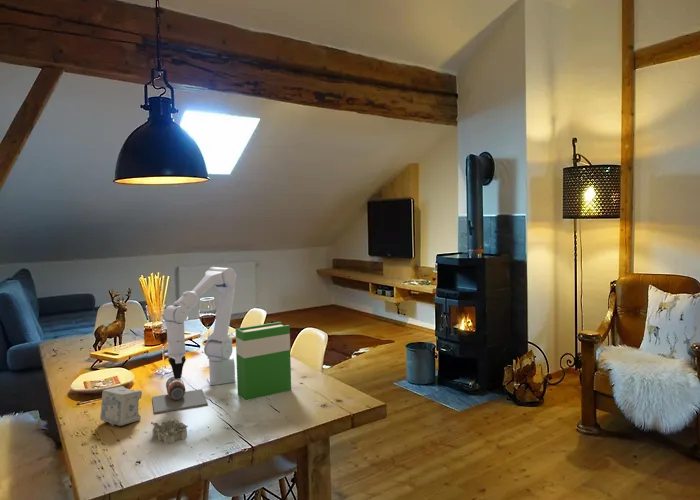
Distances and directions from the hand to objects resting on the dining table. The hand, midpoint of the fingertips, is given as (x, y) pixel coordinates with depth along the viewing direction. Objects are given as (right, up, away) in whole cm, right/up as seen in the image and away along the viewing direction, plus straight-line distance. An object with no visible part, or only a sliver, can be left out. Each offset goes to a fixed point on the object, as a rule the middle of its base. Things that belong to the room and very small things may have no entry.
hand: (177, 377), depth 175 cm
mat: (+1, -8, -2) cm, 8 cm away
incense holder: (-11, -9, -18) cm, 23 cm away
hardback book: (+30, -7, +6) cm, 31 cm away
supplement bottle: (-3, -3, +6) cm, 7 cm away
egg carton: (+8, -10, -28) cm, 31 cm away
